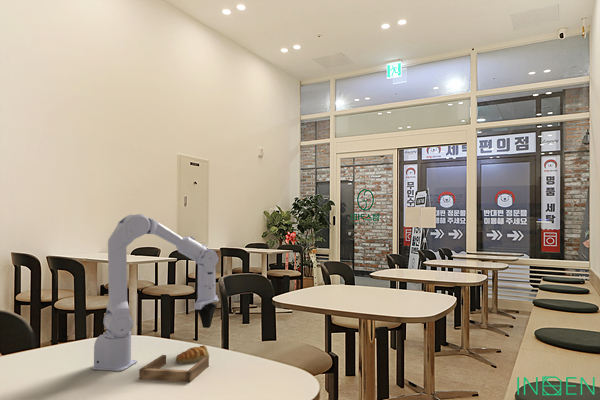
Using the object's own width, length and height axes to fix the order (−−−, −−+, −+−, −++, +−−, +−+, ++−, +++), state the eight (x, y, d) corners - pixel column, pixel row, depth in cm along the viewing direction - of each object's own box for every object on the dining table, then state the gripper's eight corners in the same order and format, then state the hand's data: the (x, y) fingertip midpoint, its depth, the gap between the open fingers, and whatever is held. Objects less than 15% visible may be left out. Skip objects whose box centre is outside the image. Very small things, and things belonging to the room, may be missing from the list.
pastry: (181, 367, 120) (181, 353, 120) (171, 361, 125) (171, 348, 125) (211, 360, 126) (211, 347, 126) (200, 355, 131) (200, 342, 131)
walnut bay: (139, 379, 110) (139, 369, 111) (162, 363, 122) (162, 354, 123) (190, 382, 108) (190, 372, 108) (208, 366, 120) (208, 357, 120)
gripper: (209, 289, 130) (209, 333, 129) (226, 282, 144) (226, 322, 143) (188, 288, 131) (188, 332, 130) (206, 282, 145) (206, 321, 144)
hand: (206, 327), depth 137 cm, fingers closed
